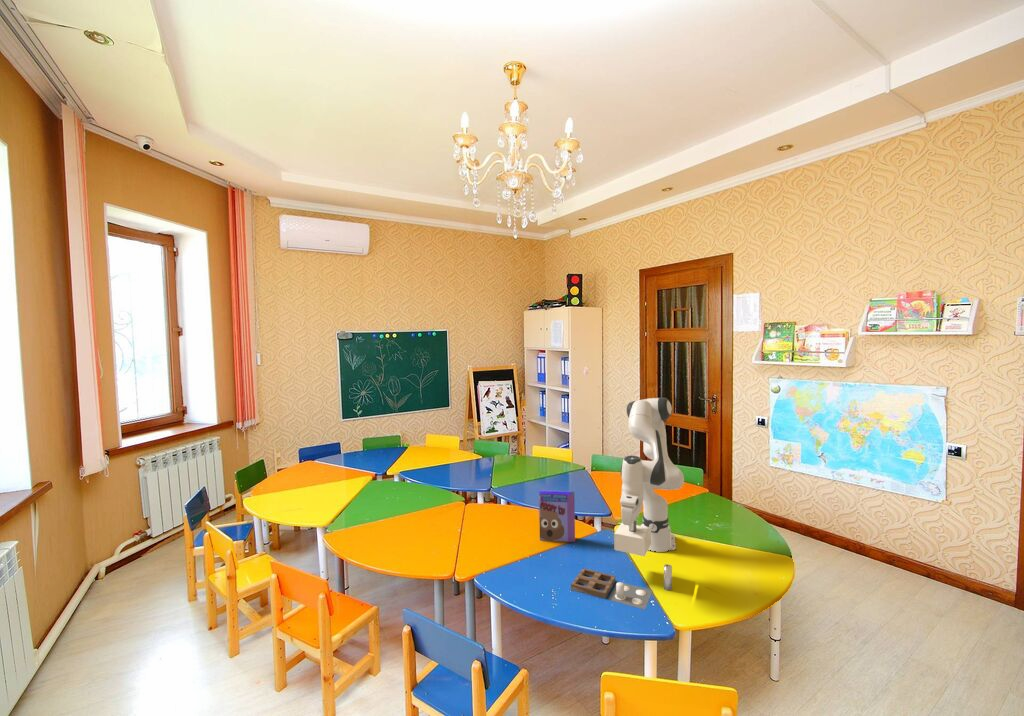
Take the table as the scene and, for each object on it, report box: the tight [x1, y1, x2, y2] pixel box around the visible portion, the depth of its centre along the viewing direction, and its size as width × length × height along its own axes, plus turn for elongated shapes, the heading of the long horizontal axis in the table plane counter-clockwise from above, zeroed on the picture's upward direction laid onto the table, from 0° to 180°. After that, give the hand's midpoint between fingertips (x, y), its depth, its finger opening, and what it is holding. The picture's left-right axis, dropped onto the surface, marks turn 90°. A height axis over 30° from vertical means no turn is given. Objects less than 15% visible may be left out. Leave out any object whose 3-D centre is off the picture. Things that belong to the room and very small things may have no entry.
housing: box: [613, 521, 651, 557], centre depth 186 cm, size 12×12×11 cm
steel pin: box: [663, 563, 673, 592], centre depth 175 cm, size 3×3×10 cm
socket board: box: [570, 567, 616, 600], centre depth 179 cm, size 14×14×3 cm
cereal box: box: [538, 490, 576, 543], centre depth 222 cm, size 17×5×24 cm, turn 81°
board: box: [607, 581, 654, 611], centre depth 172 cm, size 14×14×6 cm
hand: (632, 527), depth 186 cm, fingers closed on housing, 3 cm apart
